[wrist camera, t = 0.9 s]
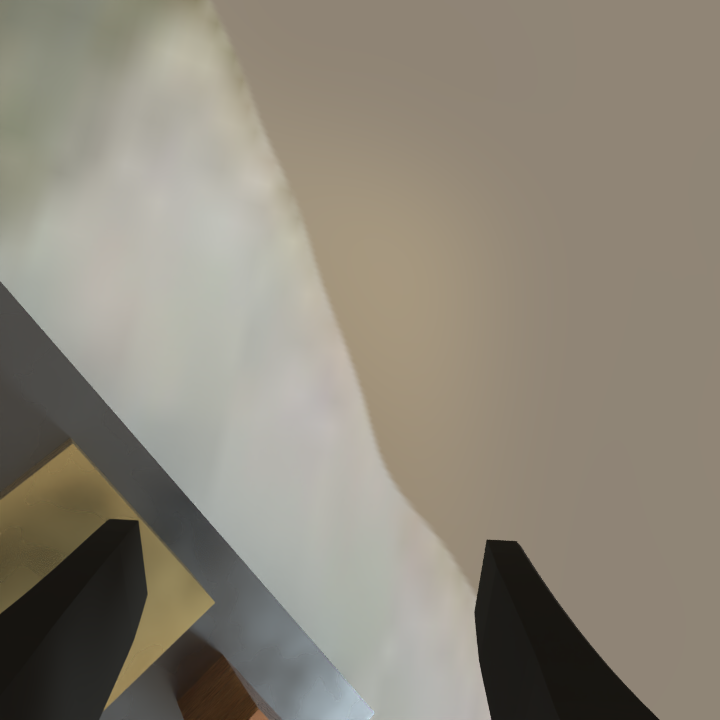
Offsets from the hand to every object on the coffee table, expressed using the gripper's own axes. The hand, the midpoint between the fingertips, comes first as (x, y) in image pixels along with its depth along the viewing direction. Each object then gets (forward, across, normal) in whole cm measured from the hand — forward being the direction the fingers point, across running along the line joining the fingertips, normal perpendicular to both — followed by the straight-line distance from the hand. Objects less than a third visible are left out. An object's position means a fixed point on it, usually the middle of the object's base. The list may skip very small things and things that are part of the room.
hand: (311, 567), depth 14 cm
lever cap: (+6, +8, +5) cm, 11 cm away
